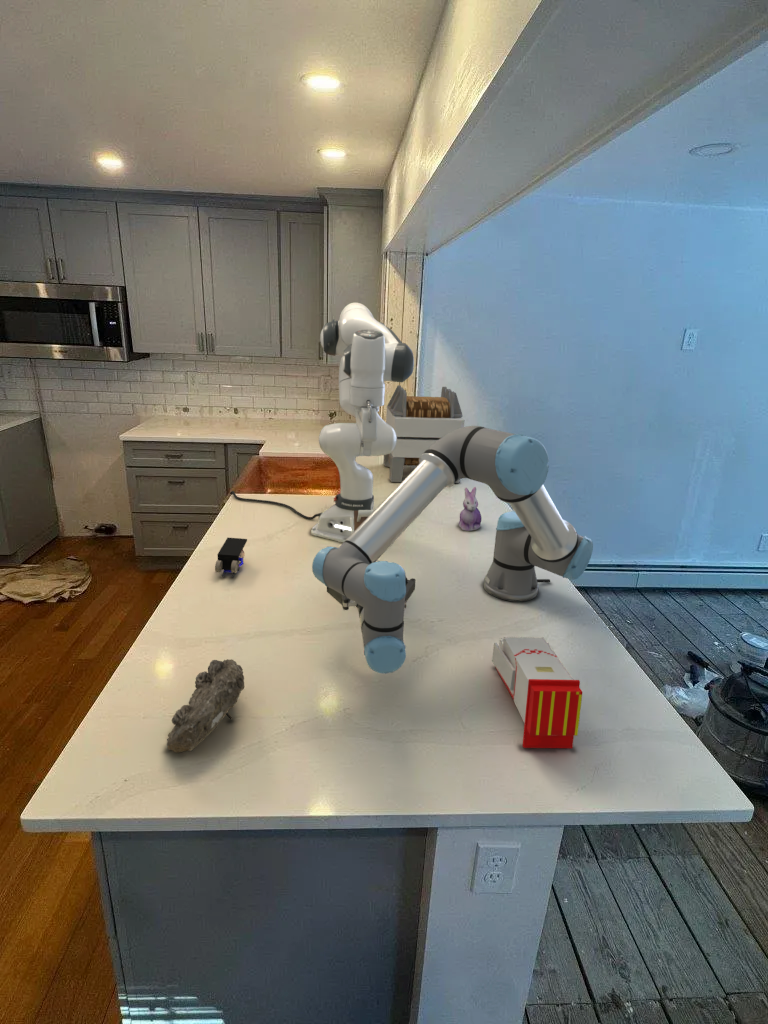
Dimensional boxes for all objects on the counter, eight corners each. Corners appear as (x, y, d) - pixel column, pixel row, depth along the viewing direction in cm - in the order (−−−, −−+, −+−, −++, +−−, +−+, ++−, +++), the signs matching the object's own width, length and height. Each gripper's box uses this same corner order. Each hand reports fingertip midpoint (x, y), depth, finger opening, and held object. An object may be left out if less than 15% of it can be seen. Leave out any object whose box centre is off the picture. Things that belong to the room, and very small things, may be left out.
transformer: (382, 463, 289) (386, 382, 275) (445, 464, 293) (451, 384, 279) (390, 482, 257) (394, 392, 243) (460, 483, 261) (468, 394, 247)
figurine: (467, 533, 203) (471, 493, 198) (451, 523, 211) (454, 485, 206) (488, 529, 207) (492, 490, 202) (471, 520, 215) (475, 482, 210)
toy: (540, 620, 128) (592, 687, 99) (535, 674, 131) (584, 755, 102) (487, 619, 128) (523, 686, 99) (483, 673, 131) (517, 754, 101)
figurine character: (238, 584, 162) (249, 557, 175) (236, 562, 158) (247, 536, 172) (215, 584, 161) (227, 556, 175) (212, 561, 158) (225, 535, 171)
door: (353, 511, 152) (356, 502, 144) (373, 511, 153) (376, 502, 145) (354, 566, 148) (357, 559, 140) (374, 565, 149) (378, 558, 140)
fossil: (192, 660, 117) (244, 628, 112) (224, 691, 120) (276, 661, 115) (142, 746, 98) (202, 712, 93) (182, 779, 101) (242, 748, 96)
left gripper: (384, 404, 134) (381, 461, 139) (375, 392, 153) (373, 442, 158) (357, 404, 133) (356, 461, 138) (351, 391, 152) (350, 442, 157)
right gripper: (316, 633, 116) (316, 585, 136) (435, 629, 119) (418, 582, 139) (316, 601, 114) (315, 556, 133) (438, 598, 117) (420, 554, 136)
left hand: (365, 450), depth 148 cm, fingers open, 8 cm apart
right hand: (368, 570), depth 136 cm, fingers open, 13 cm apart
